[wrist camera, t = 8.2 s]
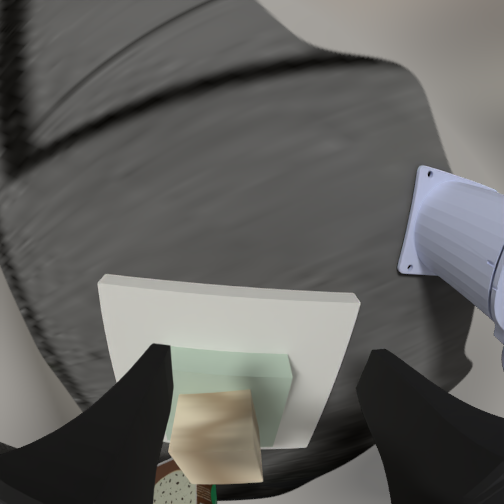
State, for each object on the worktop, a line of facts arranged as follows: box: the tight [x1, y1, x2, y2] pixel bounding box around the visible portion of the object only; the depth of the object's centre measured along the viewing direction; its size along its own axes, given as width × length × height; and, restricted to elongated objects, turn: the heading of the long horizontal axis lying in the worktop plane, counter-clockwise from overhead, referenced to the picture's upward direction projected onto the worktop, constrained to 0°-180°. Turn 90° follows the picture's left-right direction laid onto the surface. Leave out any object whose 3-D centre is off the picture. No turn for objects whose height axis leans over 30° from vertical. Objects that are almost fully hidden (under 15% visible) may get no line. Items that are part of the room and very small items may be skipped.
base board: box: [98, 274, 361, 449], centre depth 21 cm, size 18×18×4 cm
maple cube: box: [168, 389, 263, 484], centre depth 17 cm, size 5×5×5 cm
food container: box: [153, 458, 217, 504], centre depth 24 cm, size 12×6×10 cm, turn 136°
